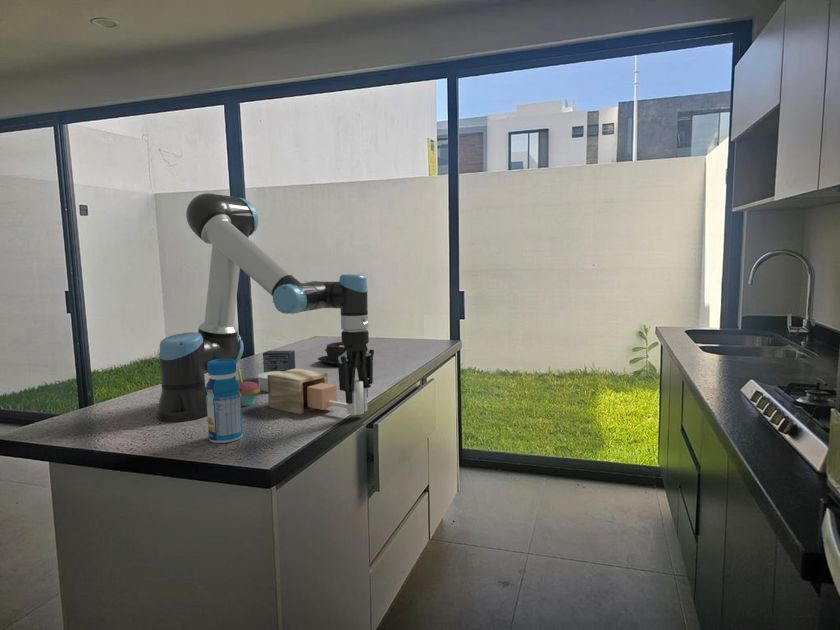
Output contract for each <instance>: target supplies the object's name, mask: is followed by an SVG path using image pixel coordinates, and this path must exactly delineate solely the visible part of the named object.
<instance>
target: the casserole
mask: <svg viewBox="0 0 840 630" xmlns="http://www.w3.org/2000/svg"><path fill="white" fill-rule="evenodd" d="M343 350H344V345H343V344H342V341H336V342H331V343H328V344H327V345H326V348H325V349H324V351H325V352H326V355H324V356H320V357H318V358H317V361H319V362H320V361H321V362H325V363H327V364H331V365H333V366H338V363H337V360H336V357H337V356H341V355H342V354H343Z"/></svg>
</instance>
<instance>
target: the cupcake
mask: <svg viewBox="0 0 840 630" xmlns="http://www.w3.org/2000/svg"><path fill="white" fill-rule="evenodd" d="M237 373H238V376H239V377H238V378H239V383H240V389H239V392H240V393H241V407H247V406H252V405H254V404H255V402H256V398H257V395H258V394H259V393H260V392H261V389H260V385H259V384H258V383H256V382H254V381H251V380H250V381H243V378H242V373H241V369H240V368H239V367H237Z"/></svg>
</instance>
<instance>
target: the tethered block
mask: <svg viewBox="0 0 840 630" xmlns="http://www.w3.org/2000/svg"><path fill="white" fill-rule="evenodd" d="M353 391H355V392H356V415H355V416H360V415H363V414H364V413H365V411H364V397H363V381H362V380H359V379H355V381H354V390H353ZM337 398H338V397H337V385H336V384H330V383H328V384H325V383H320V384H316V385H312V386H309V387H307V399H308V402H307V408H312V409H316V410H322V411H324V410H326V409H329V408H332V407H338V408H339V407H340V408H345V409H347V403H346V402H341V401H338V399H337Z"/></svg>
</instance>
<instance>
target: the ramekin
mask: <svg viewBox="0 0 840 630" xmlns="http://www.w3.org/2000/svg"><path fill="white" fill-rule="evenodd" d="M278 372H283V371H272V372H265V373H264V372H262V373H259V374H257V380H258V383H259V384H258V385H259V387H260V391H262V392H266V393H268V378H267V375H270V374H274V373H278Z"/></svg>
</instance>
